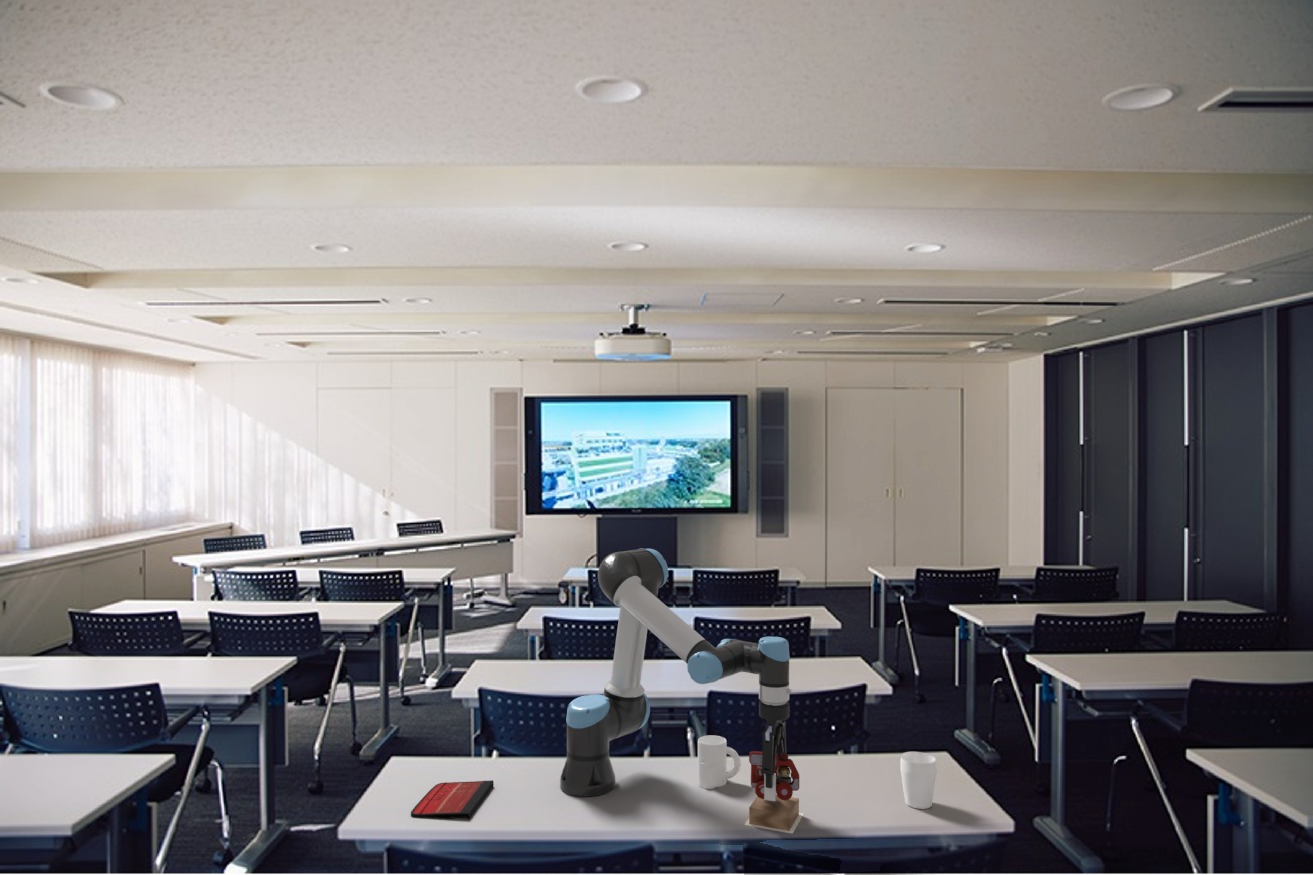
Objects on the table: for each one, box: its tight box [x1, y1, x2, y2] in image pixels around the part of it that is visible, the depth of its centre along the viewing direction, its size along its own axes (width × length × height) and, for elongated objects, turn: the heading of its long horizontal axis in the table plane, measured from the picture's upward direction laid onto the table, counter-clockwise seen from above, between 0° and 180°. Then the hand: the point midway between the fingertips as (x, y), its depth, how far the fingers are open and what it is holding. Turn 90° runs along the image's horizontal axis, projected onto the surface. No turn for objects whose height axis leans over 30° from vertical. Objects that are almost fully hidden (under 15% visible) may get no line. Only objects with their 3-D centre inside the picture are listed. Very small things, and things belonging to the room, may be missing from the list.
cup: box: [899, 751, 937, 810], centre depth 217 cm, size 9×9×12 cm
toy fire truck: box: [748, 750, 800, 800], centre depth 206 cm, size 7×12×10 cm, turn 83°
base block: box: [748, 794, 800, 831], centre depth 206 cm, size 10×10×4 cm
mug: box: [697, 734, 742, 790], centre depth 229 cm, size 8×12×12 cm
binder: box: [410, 780, 494, 821], centre depth 218 cm, size 16×2×21 cm
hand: (774, 793), depth 206 cm, fingers closed on toy fire truck, 8 cm apart
